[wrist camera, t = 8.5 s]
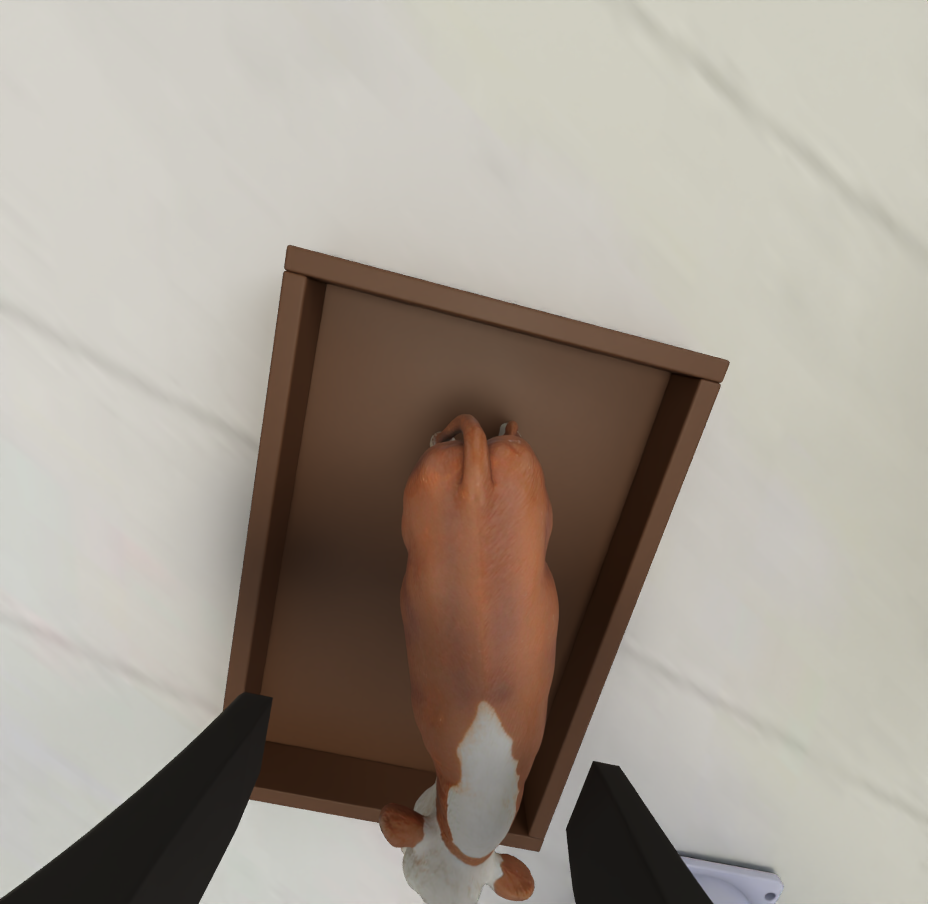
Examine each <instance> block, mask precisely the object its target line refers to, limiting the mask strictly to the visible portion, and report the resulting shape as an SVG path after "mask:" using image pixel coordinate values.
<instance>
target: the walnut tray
mask: <svg viewBox="0 0 928 904" xmlns="http://www.w3.org/2000/svg"><path fill="white" fill-rule="evenodd" d="M284 268H285V270H286V271H284V273H283V279H282V287H281V294H280V301H279V308H278V316H277V323H276V330H275V337H274V345H273V352H272V359H271V366H270V373H269V381H268V388H267V395H266V402H265V410H264V417H263V424H262V431H261V438H260V446H259V453H258V460H257V467H256V475H255V482H254V489H253V496H252V504H251V511H250V518H249V525H248V532H247V540H246V547H245V554H244V561H243V569H242V576H241V583H240V590H239V597H238V605H237V612H236V619H235V626H234V634H233V641H232V648H231V655H230V663H229V670H228V677H227V684H226V691H225V699H224V706H223V711H224V710H225V709H226V708H227V707H228V706H229V705H230V704H231V703H232V702H233V701H234V700H235V699H236V697H237V696H238V695H240V694H242V693H244V692H248V693H253V694H258V695H263V696H268V697H273V700H272V706H271V712H270V718H269V724H268V730H267V735H266V741H265V747H264V753H263V759H262V765H261V770H260V773H259V776H258V778H257V781H256V783H255V786H254V788H253V791H252V793H251V796H250V798H249V799H250V800H255V801H261V802H266V803H272V804H278V805H283V806H289V807H294V808H300V809H305V810H311V811H316V812H322V813H327V814H333V815H338V816H344V817H349V818H355V819H360V820H366V821H371V822H377V823H379V816H380V813H381V810H382V808H383V807H384V806H385V805H387V804H389V803H396V804H400V805H403V806H406V807H409V808H411V809H412V810H414V807H415V803H416V801H417V800H418V799H419V797H420V796H421V795H422V794H423V793H424V792H425V791H426V790H427V789H428V788H430V787H432V786H433V785H434V784H435V781H436V778H437V776H436V769H435V766H434V762H433V760H432V757H431V755H430V754H429V752H428V751H427V749H426V747H425V744H424V742H423V739H422V735H421V733H420V731H419V728H418V726H417V724H416V721H415V717H414V713H413V708H412V702H411V682H410V674H409V665H408V657H407V648H406V640H405V632H404V625H403V620H402V614H401V607H400V591H401V587H402V582H403V578H404V575H405V573H406V568H407V560H408V551H407V548H406V546H405V544H404V541H403V537H402V531H401V523H402V514H403V495H404V490H405V486H406V483H407V480H408V478H409V476H410V474H411V472H412V470H413V468H414V467H415V465H416V463H417V462H418V460H419V458H420V457H421V456H422V455H423V453H424V452H425V451H426V450H427V449H428V448H430V441H431V438H432V436H433V435H434V434H435V433H437V432H442V431H443V430H444V429H445V428H446V427H447V426H448V424H449V423H450V422H451V421H452V420H453V419H455V418H456V417H457V416H459V415H461V414H469V415H472V416H473V417H474V418H475V419H476V420H477V421H478V423H479V424H480V426H481V428H482V429H483V431H484V433H485V435H486V439H487V440H489V439H491V438H493V437H496V436H499V432H500V427H501V425H502V424H504V423H508V422H510V421H515V422H516V423H517V424H518V433H519V434H520V436H521V438H522V439H524V440H525V441H526V442H527V443H528V444H529V445H530V446H531V448H532V450H533V451H534V453H535V455H536V457H537V459H538V460H539V462H540V464H541V467H542V470H543V472H544V478H545V486H546V490H547V493H548V496H549V500H550V503H551V506H552V513H553V526H552V532H551V535H550V538H549V542H548V546H547V550H546V556H545V561H546V563H547V565H548V567H549V569H550V571H551V573H552V576H553V579H554V582H555V586H556V591H557V596H558V603H559V622H558V630H557V638H556V655H555V667H554V674H553V679H552V683H551V687H550V691H549V694H548V702H547V714H546V723H545V728H544V733H543V738H542V742H541V745H540V748H539V750H538V752H537V754H536V756H535V759H534V761H533V764H532V767H531V770H530V772H529V774H528V776H527V779H526V781H525V783H524V790H523V795H522V799H521V803H520V807H519V810H518V812H517V814H516V817H515V819H514V821H513V824H512V826H511V827H510V829H509V831H508V833H507V834H506V836H505V838H504V839H503V840H502V841H501V843H500V844H499V845H504V846H510V847H515V848H521V849H526V850H532V851H537V852H539V851H540V849H541V846H542V844H543V841H544V837H545V835H546V832H547V830H548V827H549V825H550V822H551V820H552V817H553V814H554V812H555V809H556V807H557V804H558V802H559V799H560V796H561V794H562V791H563V789H564V786H565V784H566V781H567V779H568V776H569V773H570V771H571V768H572V766H573V763H574V761H575V758H576V756H577V753H578V750H579V748H580V745H581V743H582V740H583V738H584V735H585V732H586V730H587V727H588V725H589V722H590V720H591V717H592V715H593V712H594V709H595V707H596V704H597V702H598V699H599V697H600V694H601V691H602V689H603V686H604V684H605V681H606V679H607V676H608V674H609V671H610V668H611V666H612V663H613V661H614V658H615V656H616V653H617V650H618V648H619V645H620V643H621V640H622V638H623V635H624V633H625V630H626V627H627V625H628V622H629V620H630V617H631V615H632V612H633V609H634V607H635V604H636V602H637V599H638V597H639V594H640V592H641V589H642V586H643V584H644V581H645V579H646V576H647V574H648V571H649V568H650V566H651V563H652V561H653V558H654V556H655V553H656V551H657V548H658V545H659V543H660V540H661V538H662V535H663V533H664V530H665V527H666V525H667V522H668V520H669V517H670V515H671V512H672V510H673V507H674V504H675V502H676V499H677V497H678V494H679V492H680V489H681V486H682V484H683V481H684V479H685V476H686V474H687V471H688V469H689V466H690V463H691V461H692V458H693V456H694V453H695V451H696V448H697V446H698V443H699V440H700V438H701V435H702V433H703V430H704V428H705V425H706V422H707V420H708V417H709V415H710V412H711V410H712V407H713V405H714V402H715V399H716V397H717V394H718V392H719V389H720V387H721V385H720V384H719V383H721V382H722V381H723V379H724V376H725V374H726V371H727V369H728V366H729V363H730V362H729V361H728V360H725V359H721V358H717V357H713V356H709V355H706V354H702V353H698V352H694V351H691V350H687V349H683V348H679V347H675V346H672V345H668V344H664V343H660V342H656V341H653V340H649V339H645V338H641V337H637V336H634V335H630V334H626V333H622V332H618V331H615V330H611V329H607V328H603V327H599V326H596V325H592V324H588V323H584V322H581V321H577V320H573V319H569V318H565V317H562V316H558V315H554V314H550V313H546V312H543V311H539V310H535V309H531V308H527V307H524V306H520V305H516V304H512V303H508V302H505V301H501V300H497V299H493V298H489V297H486V296H482V295H478V294H474V293H470V292H467V291H463V290H459V289H455V288H452V287H448V286H444V285H440V284H436V283H433V282H429V281H425V280H421V279H417V278H414V277H410V276H406V275H402V274H398V273H395V272H391V271H387V270H383V269H379V268H376V267H372V266H368V265H364V264H360V263H357V262H353V261H349V260H345V259H342V258H338V257H334V256H330V255H326V254H323V253H319V252H315V251H311V250H307V249H304V248H300V247H296V246H292V245H288V246H287V250H286V258H285V265H284ZM454 439H455V440H464V436H463V434H462V432H461V433H458V434H457V435H456V436H455V437H454Z"/></svg>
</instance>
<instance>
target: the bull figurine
mask: <svg viewBox="0 0 928 904" xmlns="http://www.w3.org/2000/svg"><path fill="white" fill-rule="evenodd" d="M461 432H462V434H463V436H464V440H455V439H454V437H455V436H456V435H457V434H458V433H461ZM552 526H553V513H552V506H551V503H550V500H549V496H548V493H547V490H546V486H545V478H544V472H543V470H542V467H541V464H540V462H539V460H538V459H537V457H536V455H535V453H534V451H533V450H532V448H531V446H530V445H529V444H528V443H527V442H526V441H525V440H524V439H522V438H521V436H520V434H519V433H518V424H517V423H516V422H515V421H510V422H508V423H504V424H502V425H501V427H500V432H499V436H496V437H493V438H491V439H489V440H487V439H486V435H485V433H484V431H483V429H482V428H481V426H480V424H479V423H478V421H477V420H476V419H475V418H474V417H473V416H472V415H469V414H461V415H459V416H457V417H456V418H455V419H453V420H452V421H451V422H450V423H449V424H448V426H447V427H446V428H445V429H444V430H443V431H442V432H437V433H435V434H434V435H433V436H432V438H431V441H430V448H428V449H427V450H426V451H425V452H424V453H423V455H422V456H421V457H420V458H419V460H418V462H417V463H416V465H415V467H414V468H413V470H412V472H411V474H410V476H409V478H408V480H407V483H406V486H405V490H404V495H403V514H402V523H401V531H402V537H403V541H404V544H405V546H406V548H407V551H408V560H407V568H406V573H405V575H404V578H403V582H402V587H401V591H400V607H401V614H402V620H403V625H404V632H405V640H406V648H407V657H408V665H409V674H410V682H411V702H412V708H413V713H414V717H415V721H416V724H417V726H418V728H419V731H420V733H421V735H422V739H423V742H424V744H425V747H426V749H427V751H428V752H429V754H430V755H431V757H432V760H433V762H434V766H435V769H436V776H437V778H436V781H435V784H434V785H433V786H432V787H430V788H428V789H427V790H426V791H425V792H424V793H423V794H422V795H421V796H420V797H419V799H418V800H417V801H416V803H415V807H414V810H412V809H411V808H409V807H406V806H403V805H400V804H396V803H389V804H387V805H385V806H384V807H383V808H382V810H381V813H380V816H379V825H380V828H381V830H382V833H383V834H384V836H385V838H386V839H387V841H388V842H389V843H390V844H391V845H392V846H394V847H400V848H401V850H402V852H403V854H404V857H403V872H404V876H405V878H406V880H407V883H408V884H409V886H410V887H411V888H412V889H413V890H414V891H416V892H417V893H418V894H420V896H421V897H422V899H423V901H424V902H425V903H427V904H477V902H478V899H479V896H480V893H481V890H482V887H483V886H484V885H485V884H486V885H488V886H489V887H490V888H492V889H493V890H494V891H495V893H496V894H498V895H499V896H501V897H503V898H505V899H508V900H512V901H523V900H527V899H528V898H529V897H530V896H531V895H532V894H533V891H534V888H535V887H534V879H533V877H532V875H531V873H530V870H529V869H528V868H527V866H526V865H525V864H524V863H523V862H522V861H520V860H519V859H517V858H516V857H514V856H511V855H509V854H499V853H495V849H496V847H497V846H498V845H499V844H500V843H501V841H502V840H503V839H504V838H505V836H506V834H507V833H508V831H509V829H510V827H511V826H512V824H513V821H514V819H515V817H516V814H517V812H518V810H519V807H520V803H521V799H522V795H523V790H524V783H525V781H526V779H527V776H528V774H529V772H530V770H531V767H532V764H533V761H534V759H535V756H536V754H537V752H538V750H539V748H540V745H541V742H542V738H543V733H544V728H545V723H546V714H547V702H548V694H549V691H550V687H551V683H552V679H553V674H554V667H555V655H556V638H557V630H558V622H559V603H558V596H557V591H556V586H555V582H554V579H553V576H552V573H551V571H550V569H549V567H548V565H547V563H546V561H545V556H546V550H547V546H548V542H549V538H550V535H551V532H552Z"/></svg>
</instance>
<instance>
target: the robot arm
mask: <svg viewBox="0 0 928 904" xmlns="http://www.w3.org/2000/svg"><path fill="white" fill-rule="evenodd" d="M272 700H273V697H268V696H263V695H258V694H253V693H248V692H244V693H242V694H240V695H238V696H237V697H236V699H235V700H234V701H233V702H232V703H231V704H230V705H229V706H228V707H227V708H226V709H225V710H224V711H223V712H222V713H221V714H220V715H219V716H218V717H217V718H216V719H215V720H214V721H213V722H212V723H211V724H210V725H209V726H208V727H207V728H206V729H205V730H204V731H203V732H202V733H201V734H200V735H199V736H197V737H196V738H195V739H194V740H193V741H192V742H191V743H190V744H189V745H188V746H187V747H186V748H185V749H184V750H183V751H182V752H180V753H179V754H178V755H177V756H176V757H175V758H174V759H173V760H172V761H171V762H169V763H168V764H167V765H166V766H165V767H164V768H163V769H162V770H161V771H159V772H158V773H157V774H156V775H155V776H154V777H153V778H152V779H151V780H150V781H148V782H147V783H146V784H145V785H144V786H143V787H141V788H140V789H139V790H138V791H137V792H136V793H134V794H133V795H132V796H131V797H130V798H128V799H127V800H126V801H125V802H124V803H122V804H121V805H120V806H119V807H118V808H117V809H115V810H114V811H113V812H112V813H111V814H109V815H108V816H107V817H106V818H105V819H103V820H102V821H101V822H100V823H99V824H97V825H96V826H95V827H94V828H93V829H91V830H90V831H89V832H88V833H86V834H85V835H84V836H83V837H81V838H80V839H79V840H78V841H76V842H75V843H74V844H73V845H71V846H70V847H69V848H68V849H66V850H65V851H64V852H62V853H61V854H60V855H58V856H57V857H56V858H55V859H53V860H52V861H51V862H49V863H48V864H47V865H45V866H44V867H43V868H41V869H40V870H39V871H37V872H36V873H35V874H33V875H32V876H31V877H30V878H28V879H27V880H26V881H24V882H23V883H22V884H20V885H19V886H18V887H16V888H15V889H13V890H12V891H11V892H9V893H8V894H7V895H5V896H4V897H2V898H1V899H0V904H199V902H200V900H201V898H202V896H203V894H204V892H205V890H206V888H207V886H208V884H209V882H210V880H211V878H212V877H213V875H214V873H215V871H216V869H217V867H218V865H219V863H220V861H221V859H222V857H223V855H224V853H225V851H226V849H227V847H228V845H229V843H230V841H231V839H232V837H233V835H234V833H235V831H236V829H237V827H238V825H239V822H240V820H241V817H242V815H243V813H244V810H245V808H246V805H247V803H248V801H249V798H250V796H251V793H252V791H253V788H254V786H255V783H256V781H257V778H258V776H259V773H260V770H261V765H262V759H263V753H264V747H265V741H266V735H267V730H268V724H269V718H270V712H271V706H272ZM566 833H567V843H568V853H569V862H570V870H571V878H572V886H573V892H574V897H575V902H576V904H775V903H776V901H777V900H778V898H779V896H780V895H781V893H782V891H783V889H784V885H783V883H782V881H781V879H780V878H779V876H778V875H776V874H774V873H770V872H764V871H759V870H753V869H748V868H743V867H737V866H732V865H726V864H721V863H715V862H710V861H705V860H699V859H694V858H688V857H683V856H680V855H679V854H678V853H677V851H676V850H675V848H674V847H673V845H672V844H671V842H670V841H669V839H668V838H667V836H666V835H665V833H664V832H663V831H662V829H661V828H660V826H659V825H658V823H657V822H656V820H655V819H654V817H653V816H652V814H651V813H650V811H649V810H648V808H647V807H646V805H645V804H644V802H643V801H642V799H641V798H640V796H639V795H638V793H637V792H636V790H635V789H634V787H633V786H632V784H631V783H630V781H629V780H628V778H627V777H626V775H625V774H624V773H623V771H622V770H621V768H620V767H619V766H616V765H611V764H606V763H601V762H596V761H593V763H592V765H591V768H590V770H589V773H588V775H587V778H586V780H585V783H584V785H583V788H582V790H581V793H580V795H579V798H578V800H577V803H576V805H575V808H574V810H573V813H572V815H571V818H570V820H569V823H568V825H567V828H566Z"/></svg>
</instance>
